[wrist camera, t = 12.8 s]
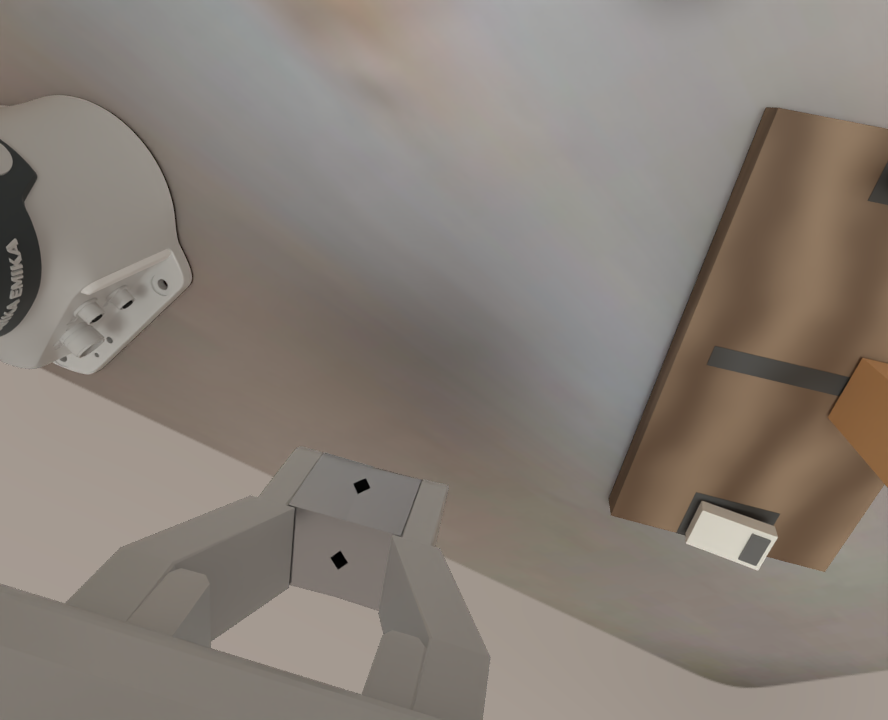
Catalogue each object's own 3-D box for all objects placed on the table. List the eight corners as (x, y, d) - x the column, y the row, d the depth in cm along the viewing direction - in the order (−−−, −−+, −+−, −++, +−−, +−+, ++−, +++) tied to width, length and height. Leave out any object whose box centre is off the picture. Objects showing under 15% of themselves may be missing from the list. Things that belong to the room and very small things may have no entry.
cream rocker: (685, 532, 42) (685, 544, 40) (701, 500, 40) (702, 511, 39) (755, 558, 40) (758, 571, 39) (775, 526, 39) (778, 538, 38)
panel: (608, 498, 44) (611, 515, 43) (765, 107, 31) (778, 107, 30) (813, 552, 43) (825, 572, 41) (1066, 165, 30) (1099, 169, 28)
